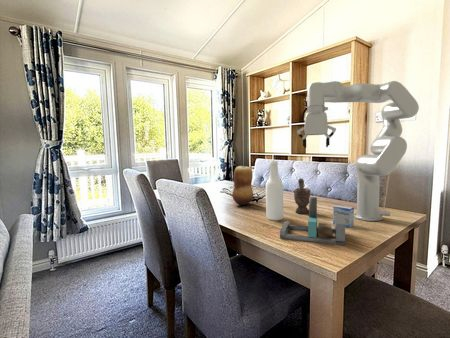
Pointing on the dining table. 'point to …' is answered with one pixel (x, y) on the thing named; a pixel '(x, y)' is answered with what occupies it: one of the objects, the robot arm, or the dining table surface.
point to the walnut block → (324, 230)
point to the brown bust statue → (302, 198)
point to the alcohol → (274, 194)
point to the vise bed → (338, 231)
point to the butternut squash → (242, 185)
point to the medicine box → (344, 214)
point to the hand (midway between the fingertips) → (315, 147)
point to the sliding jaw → (312, 217)
